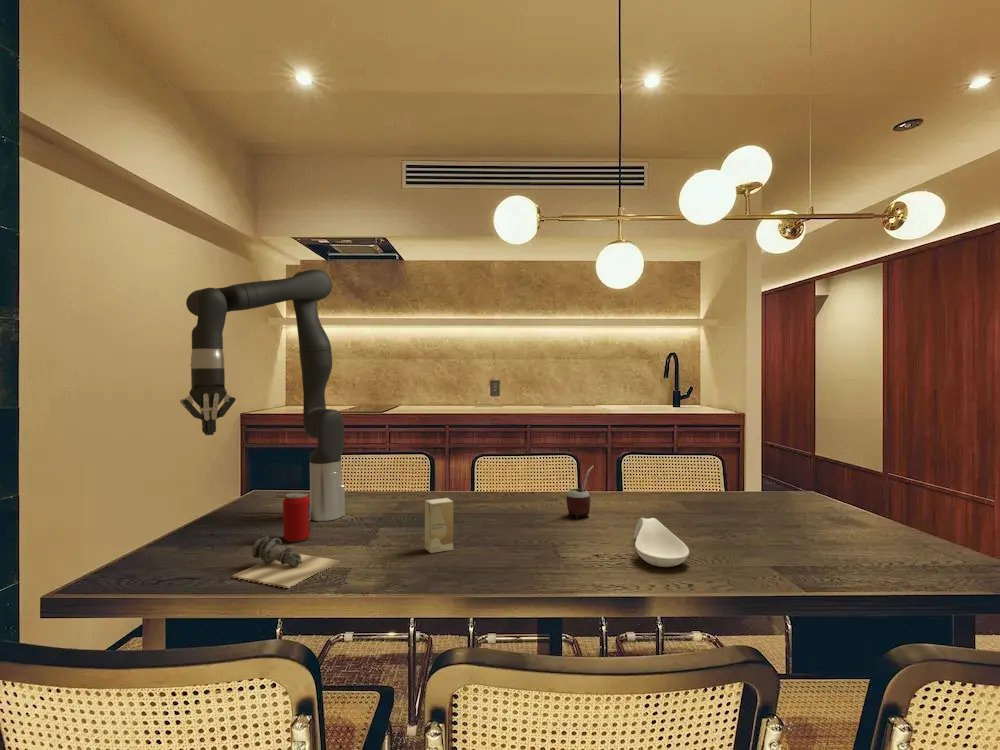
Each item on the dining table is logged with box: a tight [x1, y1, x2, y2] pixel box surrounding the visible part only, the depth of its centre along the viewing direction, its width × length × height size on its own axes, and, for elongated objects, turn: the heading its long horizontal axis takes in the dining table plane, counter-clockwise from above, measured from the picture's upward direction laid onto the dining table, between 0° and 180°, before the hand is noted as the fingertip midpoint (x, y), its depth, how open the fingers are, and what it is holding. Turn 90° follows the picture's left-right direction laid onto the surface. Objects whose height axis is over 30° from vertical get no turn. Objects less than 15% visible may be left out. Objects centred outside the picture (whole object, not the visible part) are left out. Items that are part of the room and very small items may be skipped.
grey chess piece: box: [251, 534, 303, 567], centre depth 123 cm, size 6×6×12 cm
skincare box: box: [424, 497, 454, 554], centre depth 134 cm, size 6×4×12 cm
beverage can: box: [282, 491, 311, 543], centre depth 144 cm, size 7×7×12 cm
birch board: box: [231, 553, 341, 589], centre depth 122 cm, size 16×16×1 cm
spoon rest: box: [633, 517, 690, 568], centre depth 129 cm, size 24×12×7 cm, turn 0°
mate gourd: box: [566, 465, 595, 521], centre depth 162 cm, size 8×8×15 cm
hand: (209, 434), depth 138 cm, fingers closed
